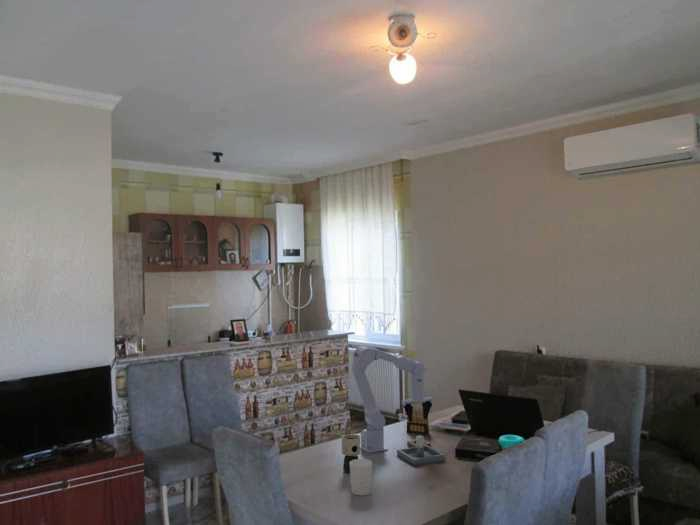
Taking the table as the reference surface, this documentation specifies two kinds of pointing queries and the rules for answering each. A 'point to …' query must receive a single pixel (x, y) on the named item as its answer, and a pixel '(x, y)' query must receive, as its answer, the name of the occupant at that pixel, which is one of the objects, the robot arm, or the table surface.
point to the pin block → (413, 443)
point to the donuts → (510, 440)
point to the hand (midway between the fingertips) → (417, 420)
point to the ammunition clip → (418, 424)
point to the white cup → (361, 476)
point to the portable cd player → (477, 448)
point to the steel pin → (420, 445)
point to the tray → (411, 457)
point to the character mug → (350, 449)
